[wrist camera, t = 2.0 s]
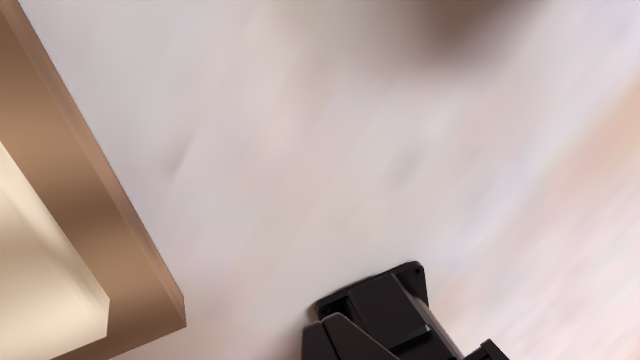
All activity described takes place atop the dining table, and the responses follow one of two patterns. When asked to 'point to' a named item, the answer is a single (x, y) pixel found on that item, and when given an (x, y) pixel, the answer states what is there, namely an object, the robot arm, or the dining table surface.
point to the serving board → (82, 193)
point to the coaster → (41, 278)
